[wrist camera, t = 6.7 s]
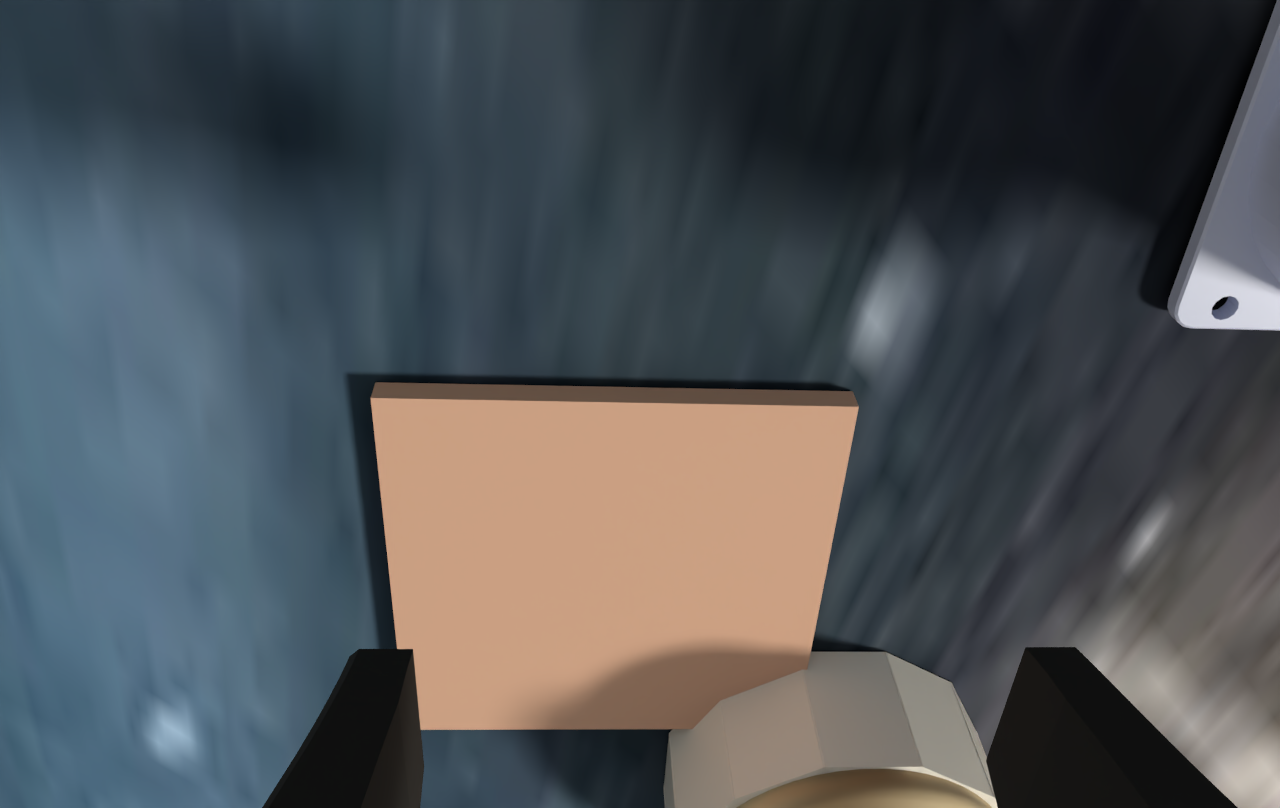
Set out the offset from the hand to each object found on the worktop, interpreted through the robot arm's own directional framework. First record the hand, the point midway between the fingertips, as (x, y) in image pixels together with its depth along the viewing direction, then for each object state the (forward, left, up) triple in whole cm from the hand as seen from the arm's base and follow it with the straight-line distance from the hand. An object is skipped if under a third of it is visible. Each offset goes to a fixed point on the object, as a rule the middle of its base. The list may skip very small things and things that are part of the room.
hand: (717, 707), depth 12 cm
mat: (+1, +7, -10) cm, 12 cm away
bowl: (-5, +14, -10) cm, 18 cm away
